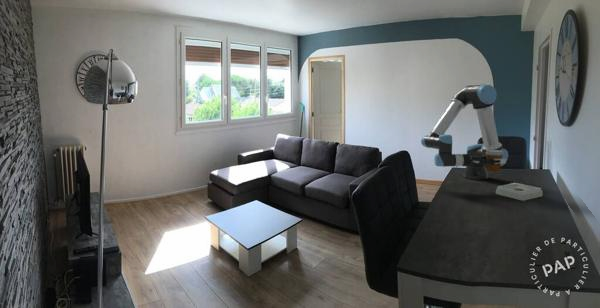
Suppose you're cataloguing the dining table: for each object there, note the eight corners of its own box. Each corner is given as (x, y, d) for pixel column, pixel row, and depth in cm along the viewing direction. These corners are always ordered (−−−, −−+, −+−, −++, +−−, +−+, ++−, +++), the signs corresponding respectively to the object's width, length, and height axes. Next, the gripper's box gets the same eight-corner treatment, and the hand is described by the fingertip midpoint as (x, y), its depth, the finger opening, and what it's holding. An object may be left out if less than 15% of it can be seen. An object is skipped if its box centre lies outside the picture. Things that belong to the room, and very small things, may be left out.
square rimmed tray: (514, 189, 207) (514, 182, 206) (542, 196, 193) (542, 188, 192) (495, 193, 201) (496, 186, 200) (522, 200, 186) (523, 192, 186)
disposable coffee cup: (498, 168, 213) (499, 149, 211) (505, 172, 203) (506, 151, 201) (482, 169, 214) (482, 149, 212) (488, 172, 205) (489, 152, 203)
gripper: (457, 163, 221) (495, 162, 218) (466, 169, 201) (509, 169, 197) (457, 151, 220) (496, 150, 216) (467, 157, 200) (510, 156, 196)
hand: (502, 159), depth 207 cm, fingers closed on disposable coffee cup, 8 cm apart
